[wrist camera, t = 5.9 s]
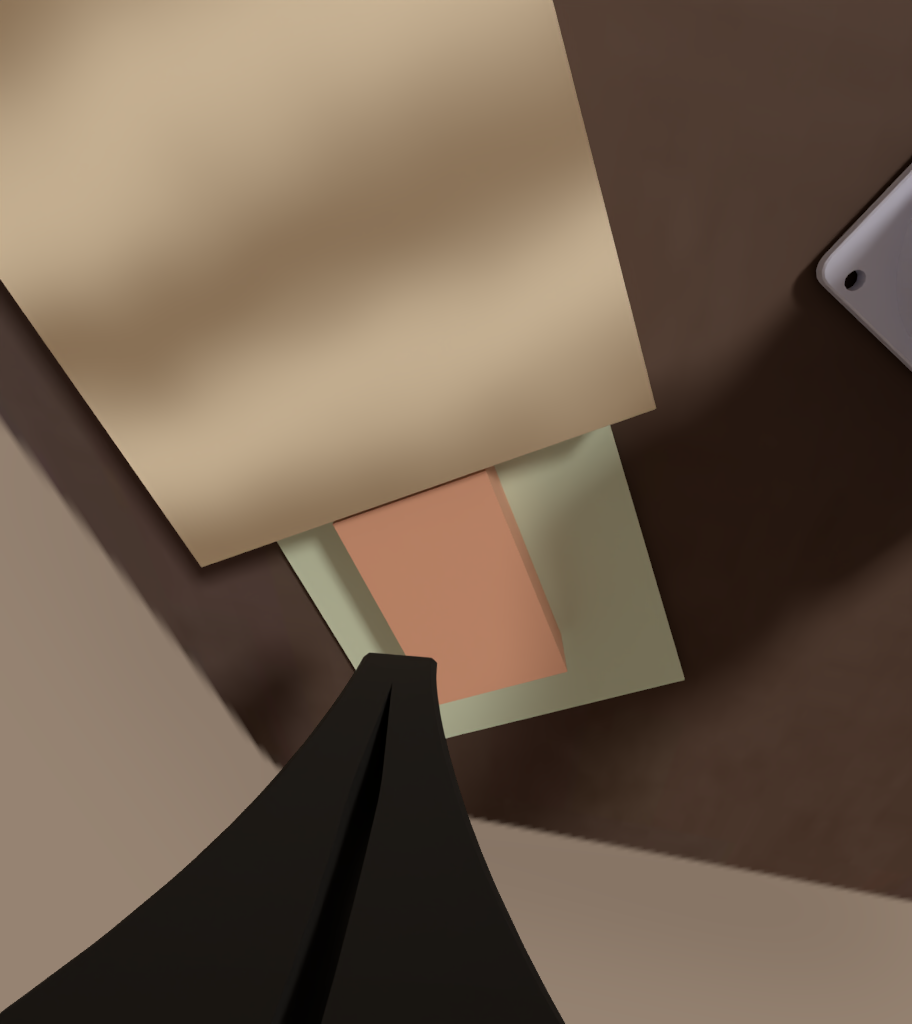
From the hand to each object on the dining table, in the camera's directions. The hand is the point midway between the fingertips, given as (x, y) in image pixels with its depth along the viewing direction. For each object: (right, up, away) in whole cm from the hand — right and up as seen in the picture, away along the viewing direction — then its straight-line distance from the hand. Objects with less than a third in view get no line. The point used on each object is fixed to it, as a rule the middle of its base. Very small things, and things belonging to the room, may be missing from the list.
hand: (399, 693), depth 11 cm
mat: (+2, 0, +10) cm, 10 cm away
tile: (+1, +2, +9) cm, 9 cm away
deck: (-3, +11, +5) cm, 13 cm away
